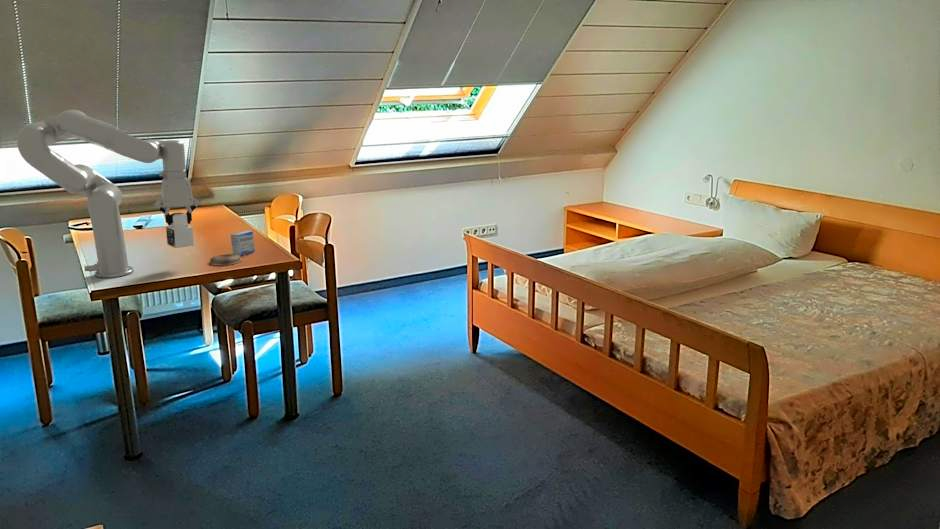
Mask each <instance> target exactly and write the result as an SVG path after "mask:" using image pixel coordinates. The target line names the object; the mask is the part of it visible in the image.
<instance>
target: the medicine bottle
mask: <svg viewBox="0 0 940 529" xmlns="http://www.w3.org/2000/svg"><path fill="white" fill-rule="evenodd" d="M170 219H171V225H166V226H165V231H166V241H167V242H166V244H167V246H170V247H172V248H173V249H179V248H186V247H193V246H194V245H195V242H194V241H195V240H194V227H193V226H192V225H190V224H188V218H187V214H186V212H173V213H170Z"/></svg>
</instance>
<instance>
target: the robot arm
mask: <svg viewBox="0 0 940 529" xmlns="http://www.w3.org/2000/svg"><path fill="white" fill-rule="evenodd" d="M71 138H75V139H78V140H80V141H83V142H86V143H89V144H92V145H94V146H95V145H96V146H98V147H100V148H104V149H106V150H108V151H110V152H114V153H116V154H118V155H121V156H123V157H125V158H128V159H131V160H134V161H138V162H141V163H144V164H152V163H155V162H156V161H157V160H158V161H159V160H161V161H162V166H163V167H162V168H163V170H162V171H161V172H158V173H159V177H162V180H161V192H160V193H161V194H160V195H161V197H159V199H158V200H157V201H156V202H155V203H154V204H153V205H154V207H156V209H158V210H159V211H161V212H162V213H163V214H164V217H165V223H166V224H167V226H171V219H170V215H171V213H170V211H171V208H182V207H183V208H184V207H185V209H186V212H185V214H187V218H188V224H187V225H191V222H192V220H193V219H192V218H193V216H192V213H193V211H194V210H196V209H197V208H198V206H199V205H200V204H201V201H199V199H198V198H196V197H194V195H193V190H192V186H191V181H190V178H188V177H187V167H186V166H187V164H186V155H185V154H186V153H185V144H184V142H182V140H178V139H176V140H175V139H171V140H169V139H167V140H160V139H145V140H144V139H142V138H138V137H135V136H133V135H129V134H128V133H125V132H123V131H121V130H120V129H119V128H118V127H116V126H115V125H113V124H111V123H108V122H106V121H103V120H100V119H97V118H94V117H91V116H88V115H87V114H85V113H84V112H83V111H81V110H79V109H68V110H63V111H62V112H60V113H59V114H57V115H54V116H51V117H49V118H46V119H43V120H40V121H36V122H32V123H28V124H26V125H24V126H23V127H22V128H21V129H20V130H19V132H18V135H17V139H16V140H17V141H16V143H17V149H18V151H19V153H20V156H21V157H22V158H23V159H24V161H25V163H27V164H28V165H29V166H31V167H33V169H35V170H36V171H38V172H39V173H41V174H43V175H44V176H45V177H46V178H48V179H49V180H51V181H52V182H54V183H55V184H57V185H58V187H60V188H62V189H64V190H65V191H67V193H70V194H73V195H81V194H82V195H83V196H84V197H86V198H87V200H86V206H87V211H88V213H89V218H90V223H91V227H92V233H93V238H94V244H95V245H94V246H95V250H96V256H97V258H96V259H97V261H96V263H94V264H92V265H84V266H83V267H84V272H94V274H95V276H96V277H98V278H101V277H102V278H103V279H104V278H109V279H110V278H118V277H123V276H127V275H131V274H132V273H133V272H134V271H135V270H134V267H133V266H132V265H129V261H128V254H127V248H126V241H125V234H124V228H123V222H122V218H121V213H120V209H119V208H120V207H119V206H120V205H121V203H122V201H123V192H122V191H121V189H120V188H119V187H118V186H117V185H116V184H114V183H113V182H112V181H110V180H109V179H108V178H106V177H104V176H103V175H102V174H100V173H99V172H98V171H96V170H94V169H93V168H92V167H90V166H88V165H85V164H80V163H79V164H74V163H72V162H70V161H69V160H68V159H66V158H65V157H63V156H62V155H61V154H59V153H58V152H55V151H54V150H52V149H51V148H50V147H49V146H52V145H54V144H57V143H59V142H62V141H64V140H68V139H71ZM161 204H162V205H163V206H164V207H165V208H164V207H163V206H162V205H161Z"/></svg>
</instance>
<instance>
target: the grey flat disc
mask: <svg viewBox="0 0 940 529" xmlns="http://www.w3.org/2000/svg"><path fill="white" fill-rule="evenodd" d="M242 259H243V258H242V256H240V255H236V254H233V253H229V254H227V253H226V254H219V255H215V256H212V257H211V258H210V261H209V265H211V266H215V265H217V266H216V267H218V266H220V267H221V265H225V266H231V265H232V264H233V265H235V264H236V263H237V264H239V263H241V262H242V261H243V260H242ZM241 260H242V261H241ZM240 261H241V262H240ZM238 262H239V263H238Z"/></svg>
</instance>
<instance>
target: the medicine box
mask: <svg viewBox="0 0 940 529" xmlns="http://www.w3.org/2000/svg"><path fill="white" fill-rule="evenodd" d="M254 237H255V236H254V232H253V230H243V231H240V232H239V231H238V232H235V233H231V234H230V242H231V250H232V251H231V252H232V254H236V255H240V257H242V256H241V255H243V256H245V255H244V254H246V255H249V254H252V253H251V252H253V253H255V252H256V250H255V240H254V239H255V238H254ZM254 251H255V252H254ZM248 253H249V254H248Z"/></svg>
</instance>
